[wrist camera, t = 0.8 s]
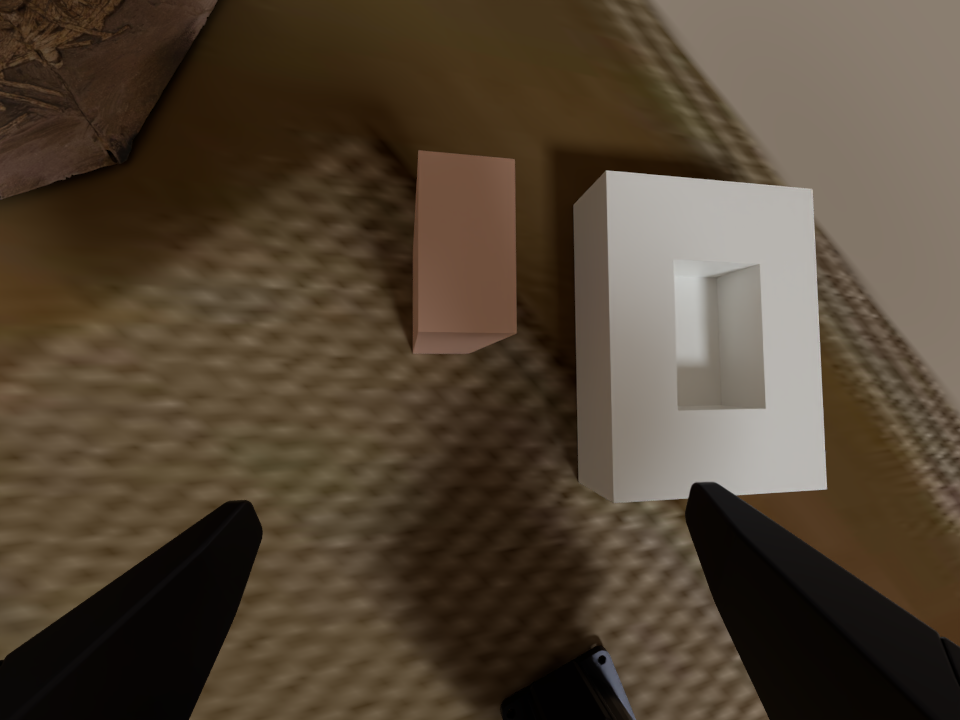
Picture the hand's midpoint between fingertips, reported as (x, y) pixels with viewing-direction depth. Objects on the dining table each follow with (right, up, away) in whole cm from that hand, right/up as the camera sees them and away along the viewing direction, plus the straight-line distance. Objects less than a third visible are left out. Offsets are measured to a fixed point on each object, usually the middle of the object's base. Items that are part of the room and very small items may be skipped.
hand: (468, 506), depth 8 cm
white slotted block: (+12, +4, +16) cm, 20 cm away
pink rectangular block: (-2, +6, +14) cm, 15 cm away
